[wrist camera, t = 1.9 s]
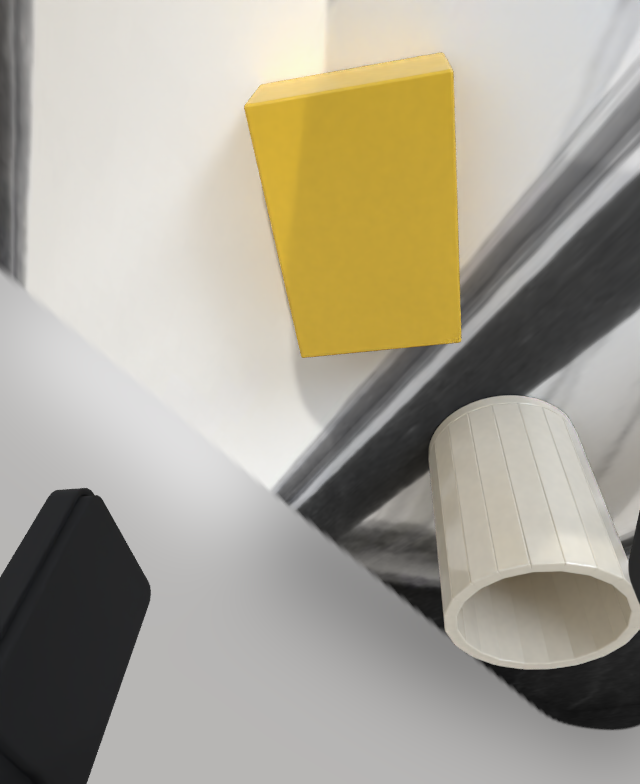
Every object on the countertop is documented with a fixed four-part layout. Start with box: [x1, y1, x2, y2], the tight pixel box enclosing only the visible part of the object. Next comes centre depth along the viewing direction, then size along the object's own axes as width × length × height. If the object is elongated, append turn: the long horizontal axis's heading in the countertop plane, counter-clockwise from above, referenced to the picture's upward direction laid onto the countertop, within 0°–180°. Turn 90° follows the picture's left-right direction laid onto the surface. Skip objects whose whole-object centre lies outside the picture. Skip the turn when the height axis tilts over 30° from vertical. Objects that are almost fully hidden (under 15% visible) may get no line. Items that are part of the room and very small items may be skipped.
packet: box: [244, 52, 461, 358], centre depth 20 cm, size 9×6×3 cm, turn 10°
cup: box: [428, 395, 640, 669], centre depth 25 cm, size 7×7×9 cm
